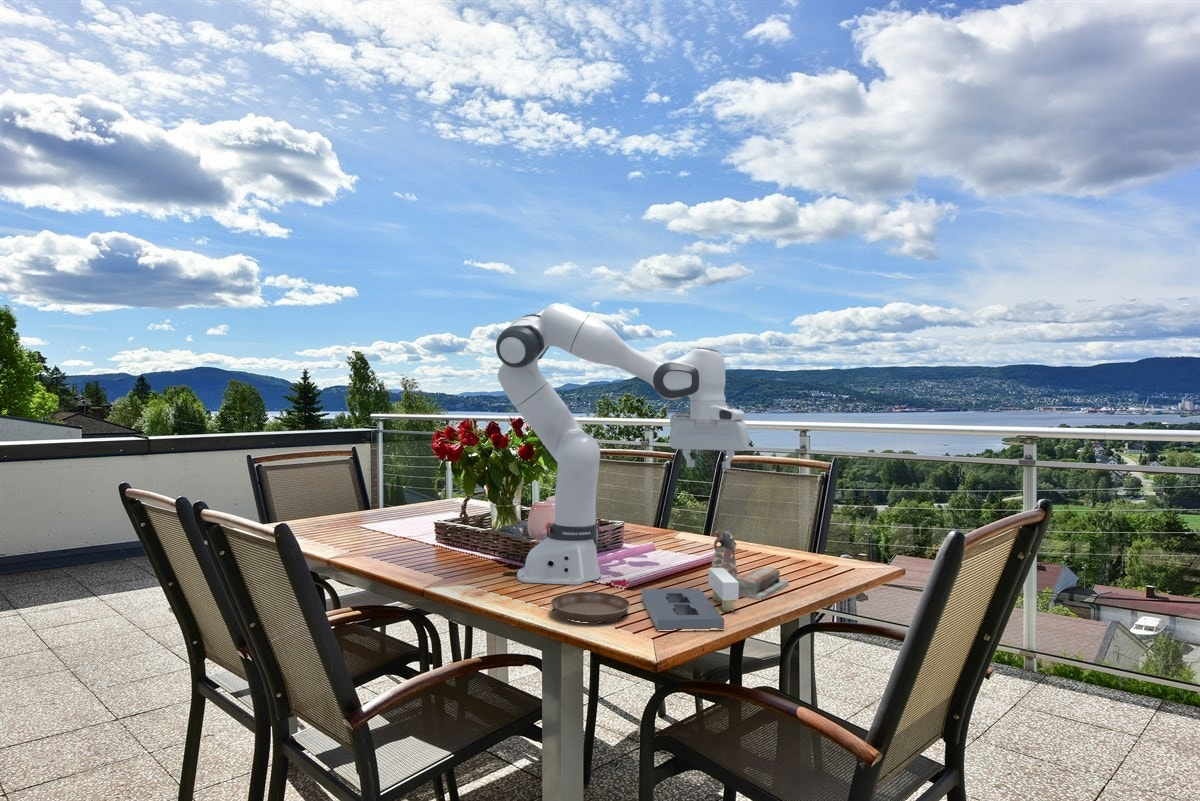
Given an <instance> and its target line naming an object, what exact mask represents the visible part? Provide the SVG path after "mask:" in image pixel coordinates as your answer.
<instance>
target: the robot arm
mask: <svg viewBox="0 0 1200 801" xmlns="http://www.w3.org/2000/svg"><path fill="white" fill-rule="evenodd" d="M550 347H556V348H559V349H561V350H563V351H565V352H567V353H569V354H571V355H572V356H575V357H577V358H580V359H582V360H585V361H587V362H592V363H594V364H598V365H599V364H600V365H605V366H611V367H615V368H618V369H620V370H623V371H625V372H627V373H629V374H631V375H633V376H635V377H637V378H638V379H640V380H643V381H644V382H646V383H647V384H649V385H650V386H651V387H652V388H653V390H654V391H655V392H656V393H657V394H658V395H659V396H660V397H661V398H663V399H664V400H667V401H670V402H675V401H680V400H682V399H684V398H686V397H688V398H689V412H675V413H674V414H672V415H671V417H670V418H669V426H670V431H669V437H668V438H669V439H668V440H669V441H668V442H669V443H668V444H669V446H670V448H672V449H673V450H682V455H683V457H684V459H685V460H686V467H687V468H695V467H696V461H695V459H692V457H691V455H690V454H692V452H691V451H692V450H700V451H701V450H703V451H704V450H705V451H710V450H711V451H725V452H726V453H725V454H726V456H727V457H726V459H725V460H724V461H721V469H723V470H730V469H731V461H732V460H733V458H734V456H735V451H736V452H743V451H747V449H748V448H749V447H750V446H749V445H750V439H749V438H750V437H749V430H748V425H747V424H746V422H745V421H744V419H745V416H746V415H745V412H744V411H743V410H740V409H737V408H735V407H731V406H728V405H727V403H726V400H727V398H726V395H725V387H726V364H725V359H724V356H723V354H722V353H721V352H719V350H716V349H713V348H709V347H698V346H697V347H694V348H692V349H691V350H690V351H689V352H687V353H685V354H684V355H682V356H679V357H678V358H675V359H671V360H669V361H666V362H664V361H660V360H658V359H655V358H653V357H651V356H649V355H647V354H645V353H644V352H641V351H639V350H637V349H636V348H634V347H632V346H630V344H628V343H627V342H625V340H623V339H622V337H620V335H618V333H617V332H616V331H615V330H614V329H613V328H612V327H610V326H609V325H608V324H606V323H605V322H604V321H602V320H600V319H599V318H597V317H595V316H594V315H591V314H589V313H587V312H586V311H583V310H581V309H578V308H576V307H573V306H570V305H567V304H563V303H560V302H558V303H557V302H555V303H552V304H550V305H548V306H547V307H546V308H545V309H544V310H543V311H542V312H541V314H535V313H534V314H526V315H525V316H522V317H521V318H519V319H516V320H514V321H513V322H512V323H511V324H510V325H509V326H508V327H507V328H504V329H503V331H501V333H500V334H499V335H498V337H497V339H496V344H495V351H496V354H497V357H498V359H499V360H500V361H501V362H502V364H501V365H500V367H499V369H498V371H497V379H498V381H499V384H500V386H501V388H502V389H503V391H504V393H505V395H506V397H507V398H508V399H509V400H510V402H511V403H512V405H513V406H514V408H515V409H516V410H517V412H518V413H519V414H520V416H521V417H522V418H523V419H524V420H525V422H526V423H527V424H528V426H529V427H530V428H531V429H532V431H533V432H534V433H535V435H536V436H537V437H538V439H539V441H540V442H542V444H543V445H544V447H545V449H546V450H547V451H548V452H549V454H550V455H551V456H552V458H553V459H554V460H555V461H556V463H557V470H556V471H557V472H556V481H555V482H556V484H555V491H554V492H555V493H554V522H553V523H552V522H547V523H545V530H546V538H544V539H543V540H542V541H540V542H539V543H538V544H536V545H535V546H534V547H533V548H532V549H530V551H529V552H528V554H527V556H526V559H525V563H524V567H521V568H519V569H518V570H517V573H516V579H517V580H518V581H519V582H521V583H530V584H531V583H532V584H550V585H552V584H553V585H572V586H573V585H574V586H575V585H581V584H584V583H587V582H591V581H595V580H598V579H600V578H601V577H602V573H601V570H600V566H599V560H598V553H597V544H598V536H599V534H598V524H597V522H596V517H597V516H596V513H597V510H596V509H597V488H598V482H599V471H600V461H601V459H600V458H601V450H600V445H599V443H598V441H597V440H596V439H595V438H594V437H593V436H592V435H590V434H588V433H586V432H585V431H584V430H583V428H582V426H580V424H579V423H578V420H576V418H575V417H574V415H573V413H572V412H571V411H570V409H569V407H568V406H567V404H566V403H565V401H564V400H563V399H562V398H561V396H560V395H559V394H558V392H557V391H556V390H555V389H554V387H553V386H552V385H551V384H550V382H548V379H547V378H546V377H545V376H544V375H543V373H542V371H541V370H540V368H539V365H538V364H539V360H541V359H542V358H543V357H544V355H545V354H546V352H547V350H548V349H549V348H550ZM672 449H671V450H672ZM599 577H600V578H599Z"/></svg>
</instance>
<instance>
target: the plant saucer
mask: <svg viewBox="0 0 1200 801" xmlns="http://www.w3.org/2000/svg"><path fill="white" fill-rule="evenodd" d="M550 605H551V607H552V608H553V610H554V611H555V613H556V614H557V615H558V616H559V617H560V616H561V617H563V618H565V619H569V620H574V621H580V622H588V623H599V622H608V623H610V622H609V621H612V622H614V621H613V620H615V621H617V620H616V619H618V620H619V619H621V618H622V617H623V616H624V615H625V614H626V612H627V611H628V610H629V608H630V606H631V602H630V601H629V600H628V599H626V598H625V597H622V596H620V595H616V594H612V593H607V592H598V591H578V592H569V593H568V592H567V593H563V594H560V595H557V596H554V597H553V598H551V600H550ZM561 617H560V618H561ZM563 618H562V619H563ZM565 619H564V620H565Z"/></svg>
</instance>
